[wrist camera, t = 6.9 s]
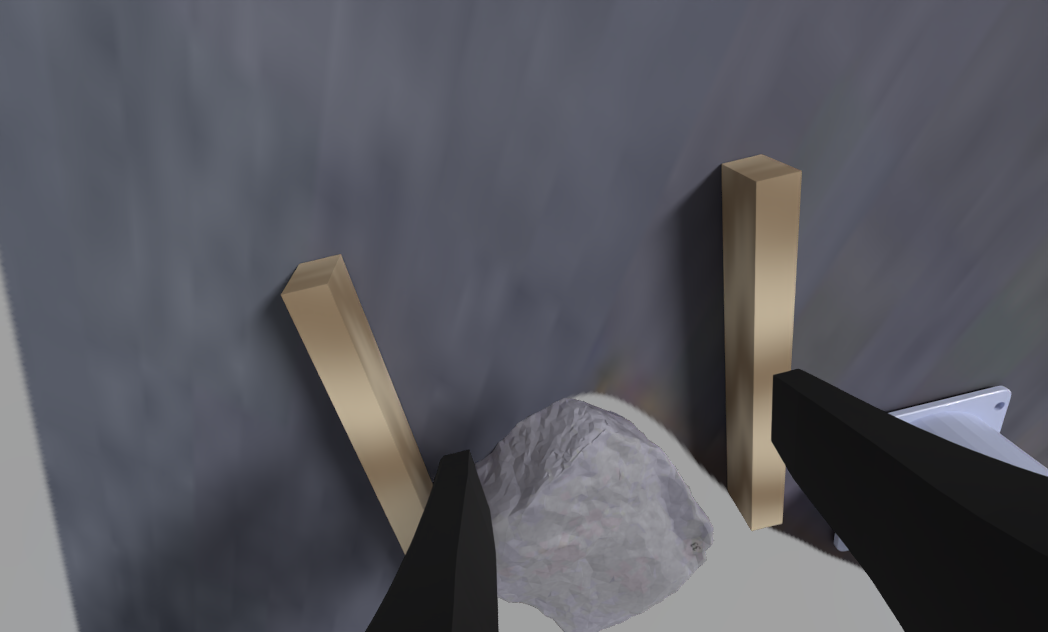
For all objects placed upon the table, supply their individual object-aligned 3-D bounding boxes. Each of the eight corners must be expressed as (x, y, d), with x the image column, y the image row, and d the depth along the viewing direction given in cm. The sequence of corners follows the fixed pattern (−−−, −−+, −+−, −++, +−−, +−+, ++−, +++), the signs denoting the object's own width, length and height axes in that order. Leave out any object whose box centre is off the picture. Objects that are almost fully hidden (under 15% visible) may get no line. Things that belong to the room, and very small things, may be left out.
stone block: (563, 352, 25) (415, 504, 26) (609, 404, 21) (429, 586, 21) (695, 472, 30) (571, 595, 31) (753, 533, 26) (607, 674, 27)
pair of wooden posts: (755, 484, 28) (782, 523, 26) (432, 563, 28) (431, 610, 25) (761, 154, 20) (802, 171, 17) (299, 263, 19) (280, 294, 17)
